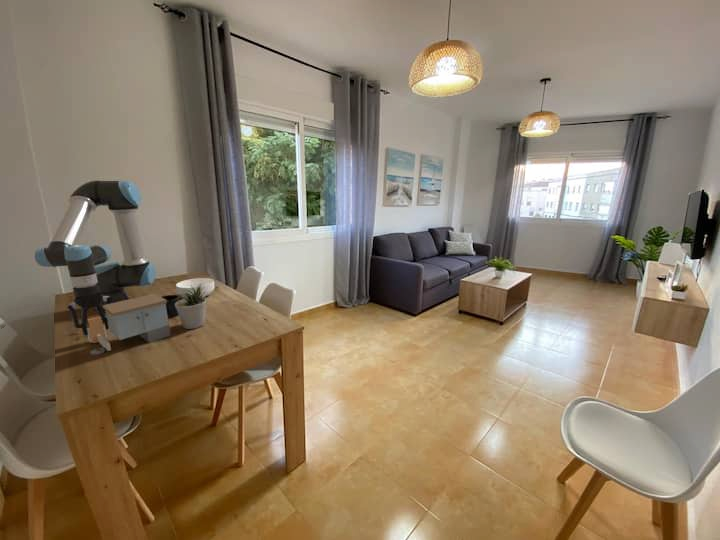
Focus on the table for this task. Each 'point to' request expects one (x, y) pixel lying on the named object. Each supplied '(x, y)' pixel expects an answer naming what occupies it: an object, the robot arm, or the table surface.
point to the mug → (171, 305)
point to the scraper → (98, 331)
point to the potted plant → (192, 309)
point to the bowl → (204, 282)
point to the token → (98, 351)
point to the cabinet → (139, 318)
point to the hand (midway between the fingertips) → (98, 339)
